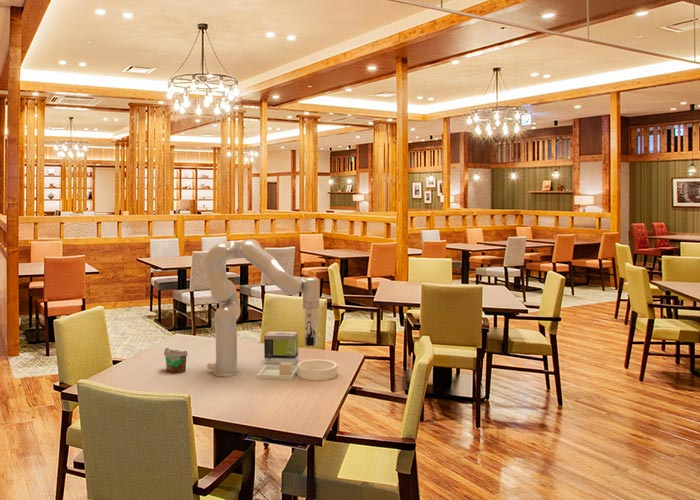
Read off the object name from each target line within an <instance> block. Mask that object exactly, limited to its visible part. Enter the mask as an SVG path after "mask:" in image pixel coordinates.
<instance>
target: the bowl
mask: <svg viewBox="0 0 700 500" xmlns="http://www.w3.org/2000/svg"><path fill="white" fill-rule="evenodd" d="M296 366H297V374H296V376H297V377H298V378H300V379H302V380H306V381H307V380H308V381H326V380H328V381H330V380H333V379H335V378H337V376H338V363H337V362H335V361H333V360H328V359H318V358H317V359H307V360H303V361H298V362H297V363H296Z"/></svg>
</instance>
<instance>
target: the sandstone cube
mask: <svg viewBox="0 0 700 500" xmlns="http://www.w3.org/2000/svg"><path fill="white" fill-rule="evenodd" d="M278 366H279V375H290V376H291V374H292V373H293V362H281V364H280V365H278Z"/></svg>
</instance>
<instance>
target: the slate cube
mask: <svg viewBox="0 0 700 500" xmlns="http://www.w3.org/2000/svg"><path fill="white" fill-rule="evenodd" d="M306 337H307V332H306V333H305V334H304V346H305V347H308V346H307V345H306ZM313 337H314V345H313V346H312V347H316V346H317V345H318V332H315V333H313Z"/></svg>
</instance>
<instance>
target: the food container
mask: <svg viewBox="0 0 700 500" xmlns="http://www.w3.org/2000/svg"><path fill="white" fill-rule="evenodd" d="M163 355H164V356H165V357H164V358H165V367H166V372H167V373H170V374H180V373H185V372H186V368H187V367H186V366H187V357H188V351H187V350H183V351H182V350H177V349H174V350H173V349H170V348H169V347H167V348H165V349H164V351H163Z"/></svg>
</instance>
